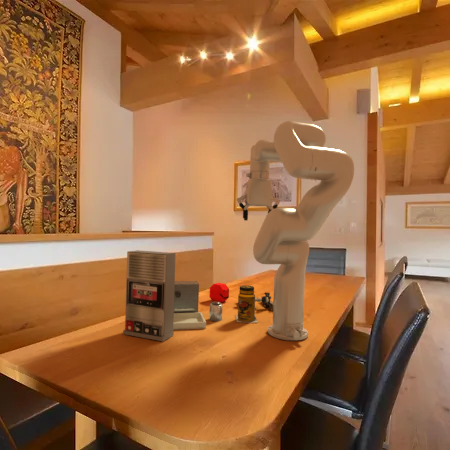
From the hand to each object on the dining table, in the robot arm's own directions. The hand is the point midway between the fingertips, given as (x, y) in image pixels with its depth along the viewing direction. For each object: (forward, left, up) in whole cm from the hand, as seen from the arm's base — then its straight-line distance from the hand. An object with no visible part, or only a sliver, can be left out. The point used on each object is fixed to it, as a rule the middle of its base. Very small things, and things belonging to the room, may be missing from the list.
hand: (257, 220), depth 122 cm
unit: (-2, +28, -36) cm, 45 cm away
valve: (+7, -3, -36) cm, 37 cm away
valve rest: (+7, -3, -36) cm, 37 cm away
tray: (-11, +28, -36) cm, 47 cm away
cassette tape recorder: (-21, +40, -36) cm, 58 cm away
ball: (+17, +11, -36) cm, 41 cm away
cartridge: (-8, +17, -36) cm, 40 cm away
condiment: (-9, +6, -36) cm, 38 cm away
